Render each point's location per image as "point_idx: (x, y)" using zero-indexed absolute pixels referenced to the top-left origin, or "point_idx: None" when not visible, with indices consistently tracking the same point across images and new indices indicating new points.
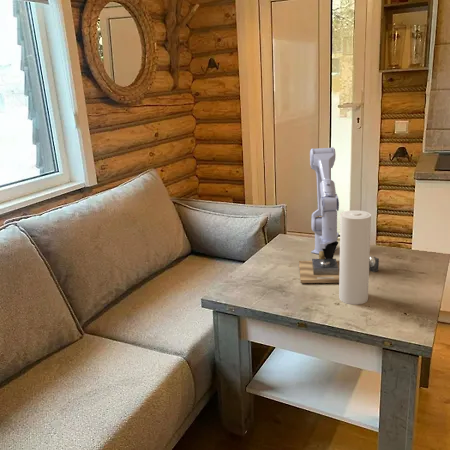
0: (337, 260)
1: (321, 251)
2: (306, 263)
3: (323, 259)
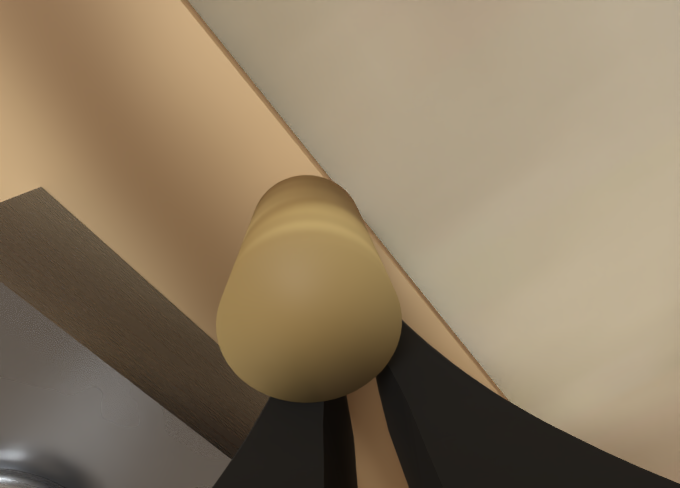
0: (479, 373)
1: (345, 288)
2: (6, 35)
3: (137, 424)
